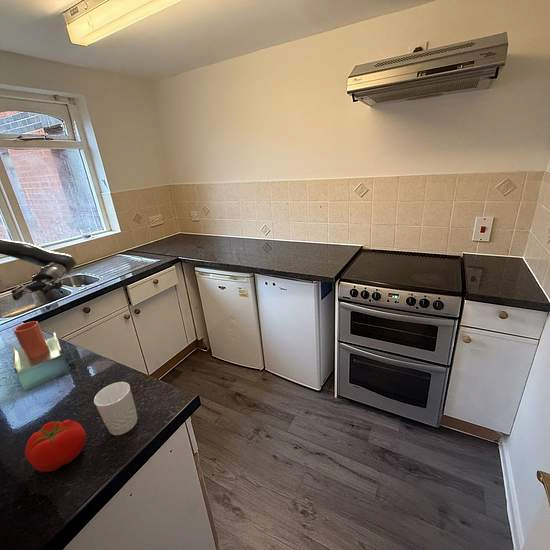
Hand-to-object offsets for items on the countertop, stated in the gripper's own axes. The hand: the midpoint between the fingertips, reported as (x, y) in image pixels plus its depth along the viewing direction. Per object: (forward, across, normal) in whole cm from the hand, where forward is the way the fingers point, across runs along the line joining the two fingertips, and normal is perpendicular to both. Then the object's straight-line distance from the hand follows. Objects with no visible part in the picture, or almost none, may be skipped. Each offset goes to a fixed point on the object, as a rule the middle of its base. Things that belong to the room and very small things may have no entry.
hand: (29, 295), depth 100 cm
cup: (+9, 0, +17) cm, 19 cm away
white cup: (+45, +30, +24) cm, 59 cm away
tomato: (+50, +18, +24) cm, 58 cm away
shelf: (+9, 0, +24) cm, 26 cm away
